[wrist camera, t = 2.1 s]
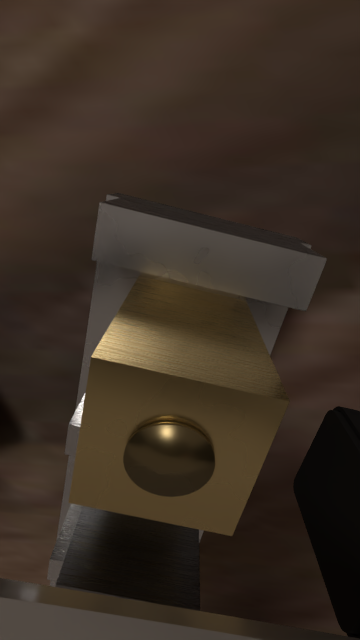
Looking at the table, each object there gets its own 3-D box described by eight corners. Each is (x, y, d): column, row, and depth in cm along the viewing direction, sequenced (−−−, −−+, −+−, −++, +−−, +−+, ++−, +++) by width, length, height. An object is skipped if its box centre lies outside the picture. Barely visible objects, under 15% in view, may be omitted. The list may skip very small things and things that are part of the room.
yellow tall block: (246, 301, 14) (292, 407, 8) (216, 391, 16) (233, 543, 9) (139, 275, 14) (88, 361, 7) (120, 369, 16) (65, 509, 9)
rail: (297, 237, 15) (342, 262, 10) (168, 596, 25) (162, 691, 20) (118, 192, 15) (82, 198, 10) (58, 574, 24) (25, 667, 20)
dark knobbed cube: (197, 449, 17) (200, 619, 10) (177, 511, 19) (167, 693, 12) (108, 430, 17) (53, 591, 10) (96, 495, 19) (41, 670, 12)
